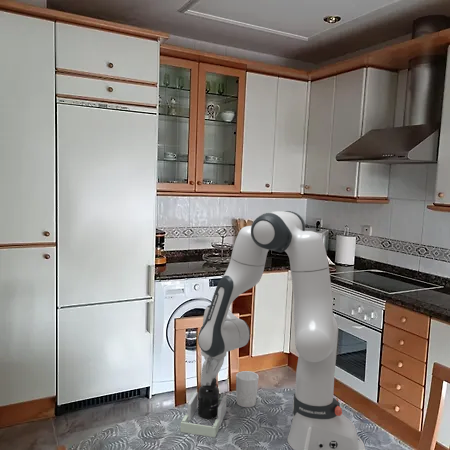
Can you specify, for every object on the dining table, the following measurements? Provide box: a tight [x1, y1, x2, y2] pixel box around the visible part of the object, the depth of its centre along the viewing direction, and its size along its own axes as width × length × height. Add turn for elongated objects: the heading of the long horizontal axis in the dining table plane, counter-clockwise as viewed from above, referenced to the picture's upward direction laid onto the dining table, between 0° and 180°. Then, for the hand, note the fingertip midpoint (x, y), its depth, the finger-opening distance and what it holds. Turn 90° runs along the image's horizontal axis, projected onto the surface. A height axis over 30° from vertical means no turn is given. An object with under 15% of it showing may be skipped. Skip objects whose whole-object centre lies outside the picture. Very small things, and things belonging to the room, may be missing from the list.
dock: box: [180, 414, 220, 438], centre depth 134 cm, size 11×5×3 cm, turn 78°
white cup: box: [235, 370, 260, 408], centre depth 153 cm, size 8×8×10 cm
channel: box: [186, 392, 227, 426], centre depth 143 cm, size 11×8×6 cm
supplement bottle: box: [197, 378, 220, 420], centre depth 144 cm, size 7×7×12 cm
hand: (211, 387), depth 152 cm, fingers closed
